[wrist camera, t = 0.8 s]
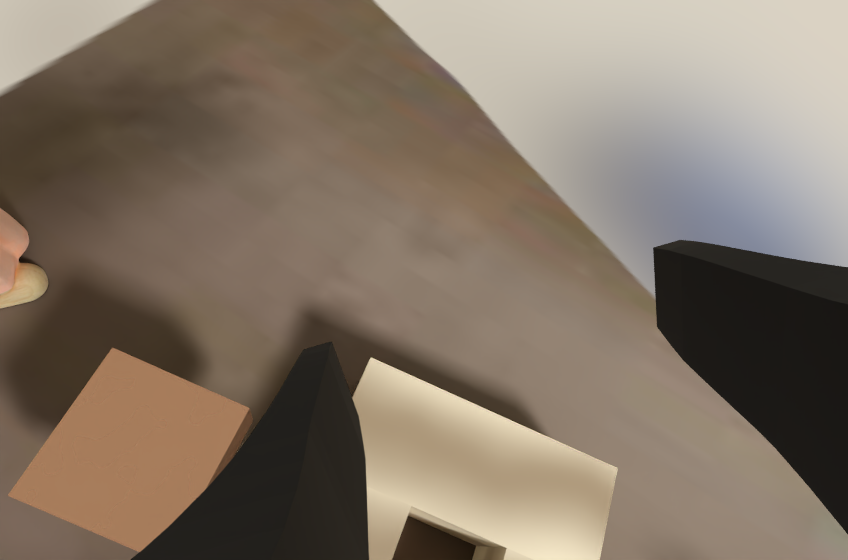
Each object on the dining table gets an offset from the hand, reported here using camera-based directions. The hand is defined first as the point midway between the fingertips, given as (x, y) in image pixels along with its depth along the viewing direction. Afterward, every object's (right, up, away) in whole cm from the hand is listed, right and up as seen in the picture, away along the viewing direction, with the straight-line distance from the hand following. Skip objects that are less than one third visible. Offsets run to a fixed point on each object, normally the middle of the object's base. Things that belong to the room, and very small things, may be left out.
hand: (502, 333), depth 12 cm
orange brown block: (-13, -7, +12) cm, 19 cm away
